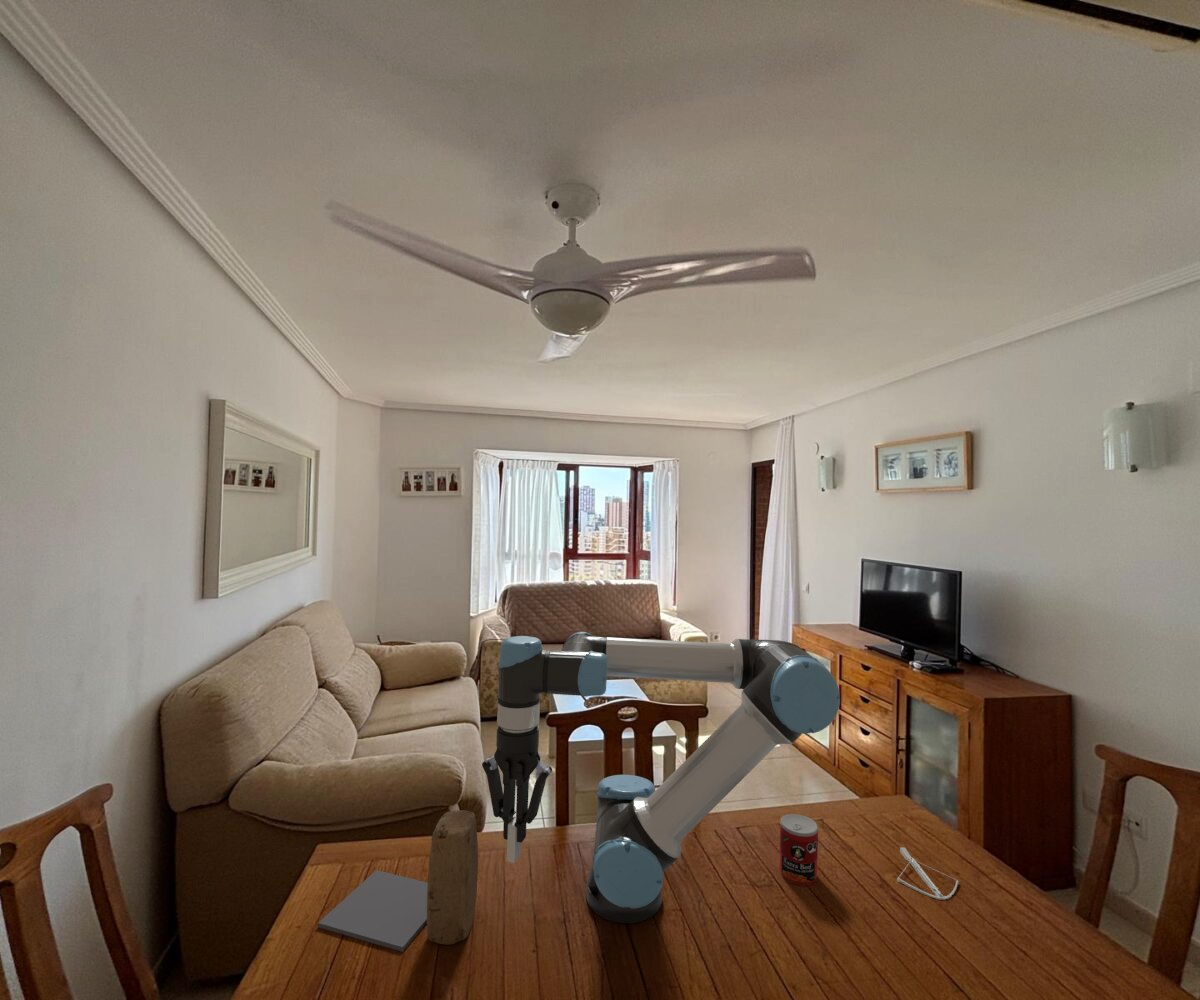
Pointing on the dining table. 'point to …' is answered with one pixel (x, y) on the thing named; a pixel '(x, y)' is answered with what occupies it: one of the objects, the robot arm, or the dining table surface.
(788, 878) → the canned food
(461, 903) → the block
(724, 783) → the robot arm
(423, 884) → the mat
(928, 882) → the crossbow
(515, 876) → the dining table surface
